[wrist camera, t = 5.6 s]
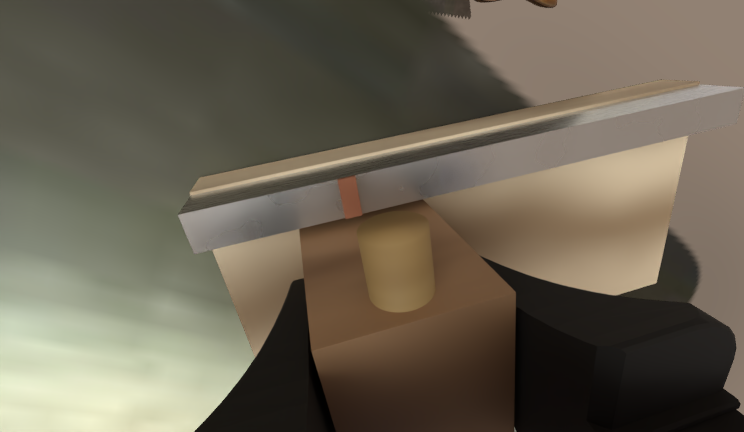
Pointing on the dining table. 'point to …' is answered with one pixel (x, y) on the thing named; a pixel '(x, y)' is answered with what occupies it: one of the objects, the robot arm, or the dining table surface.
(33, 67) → the dining table surface
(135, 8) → the dining table surface
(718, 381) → the robot arm
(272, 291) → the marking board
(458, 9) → the hand saw
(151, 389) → the dining table surface
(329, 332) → the brown knobbed block
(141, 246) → the dining table surface
